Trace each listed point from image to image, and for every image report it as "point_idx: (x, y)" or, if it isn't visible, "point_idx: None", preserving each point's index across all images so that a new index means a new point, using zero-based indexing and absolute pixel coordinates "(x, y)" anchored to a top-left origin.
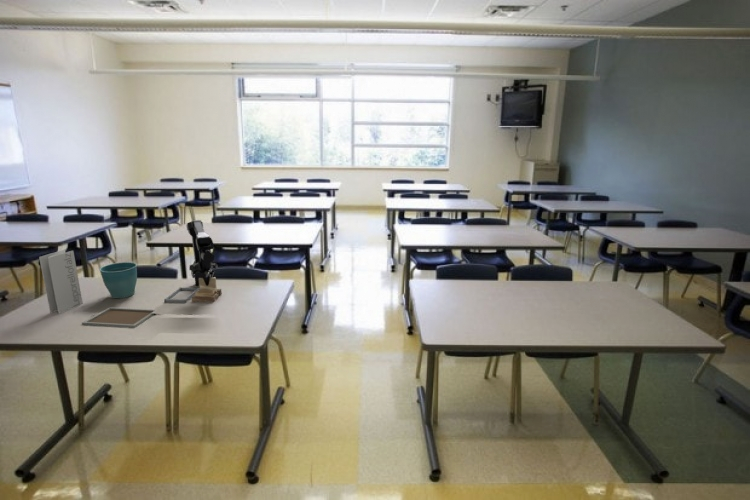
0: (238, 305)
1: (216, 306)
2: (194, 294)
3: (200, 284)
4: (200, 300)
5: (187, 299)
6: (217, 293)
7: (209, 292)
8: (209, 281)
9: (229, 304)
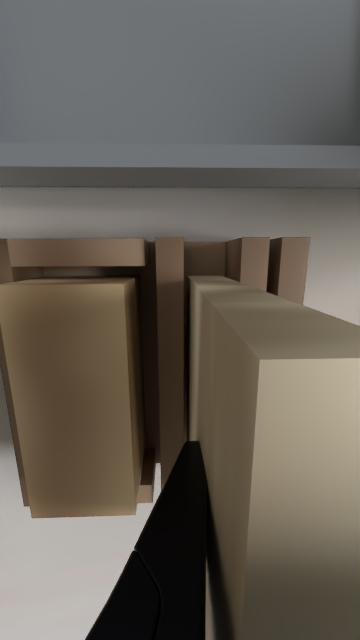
0: (63, 608)
1: (16, 479)
2: (236, 177)
3: (201, 327)
4: None
5: (14, 171)
6: (152, 501)
7: (52, 484)
8: (210, 596)
9: (73, 551)
